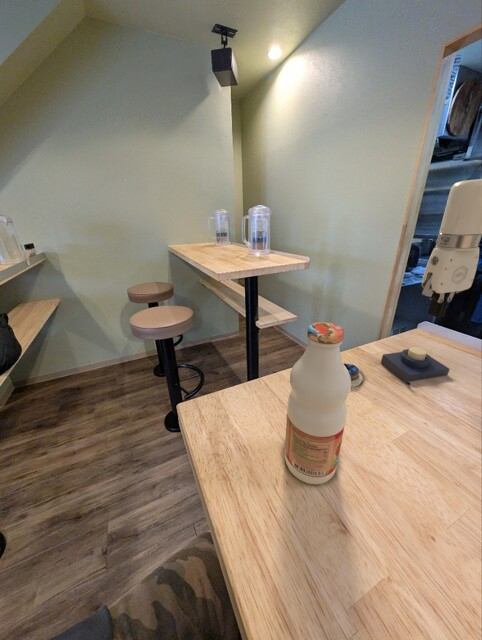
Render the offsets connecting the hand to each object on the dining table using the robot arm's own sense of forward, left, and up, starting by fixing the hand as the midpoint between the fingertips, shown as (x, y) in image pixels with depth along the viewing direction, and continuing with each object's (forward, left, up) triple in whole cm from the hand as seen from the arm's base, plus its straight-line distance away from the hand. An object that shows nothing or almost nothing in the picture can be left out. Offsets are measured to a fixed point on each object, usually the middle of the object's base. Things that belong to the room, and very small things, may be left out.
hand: (435, 315), depth 65 cm
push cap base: (+3, +1, -17) cm, 17 cm away
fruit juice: (+36, +30, -17) cm, 50 cm away
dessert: (+22, +5, -17) cm, 28 cm away
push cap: (+3, +1, -12) cm, 12 cm away
